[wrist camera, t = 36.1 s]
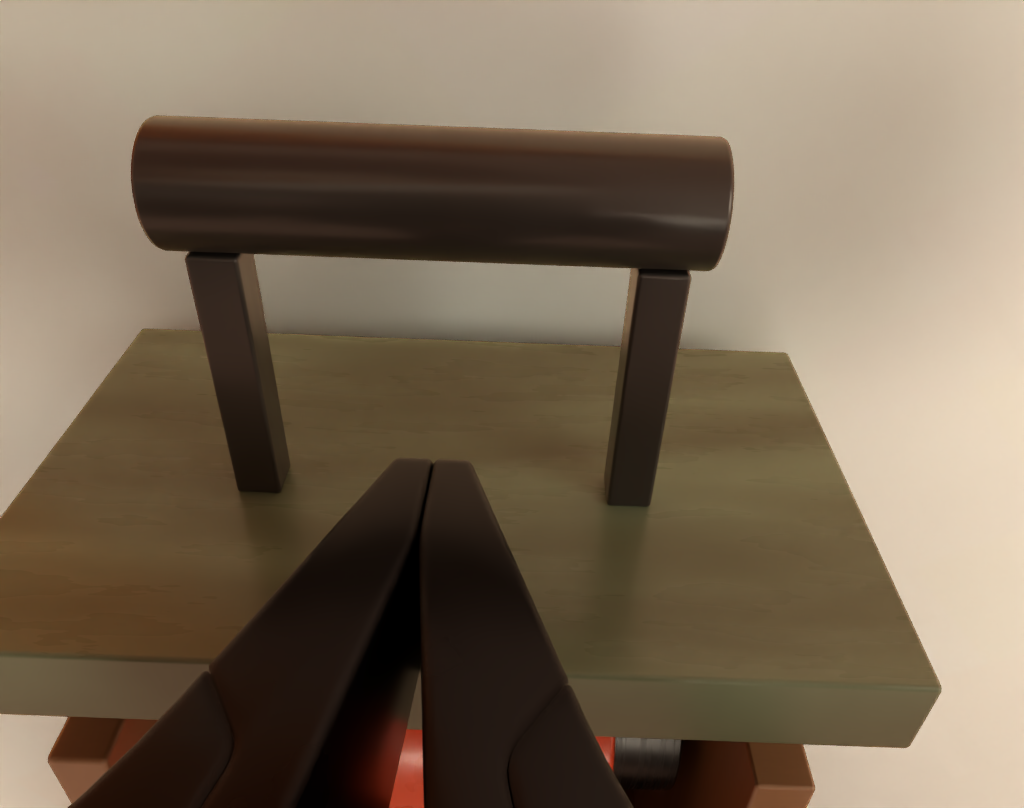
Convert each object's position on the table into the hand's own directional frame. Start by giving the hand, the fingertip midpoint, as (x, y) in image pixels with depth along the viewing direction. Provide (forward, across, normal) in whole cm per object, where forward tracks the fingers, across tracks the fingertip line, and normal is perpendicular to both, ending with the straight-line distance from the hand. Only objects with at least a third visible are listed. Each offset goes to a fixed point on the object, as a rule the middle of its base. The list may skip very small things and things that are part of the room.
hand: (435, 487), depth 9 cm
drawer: (+5, 0, +5) cm, 7 cm away
